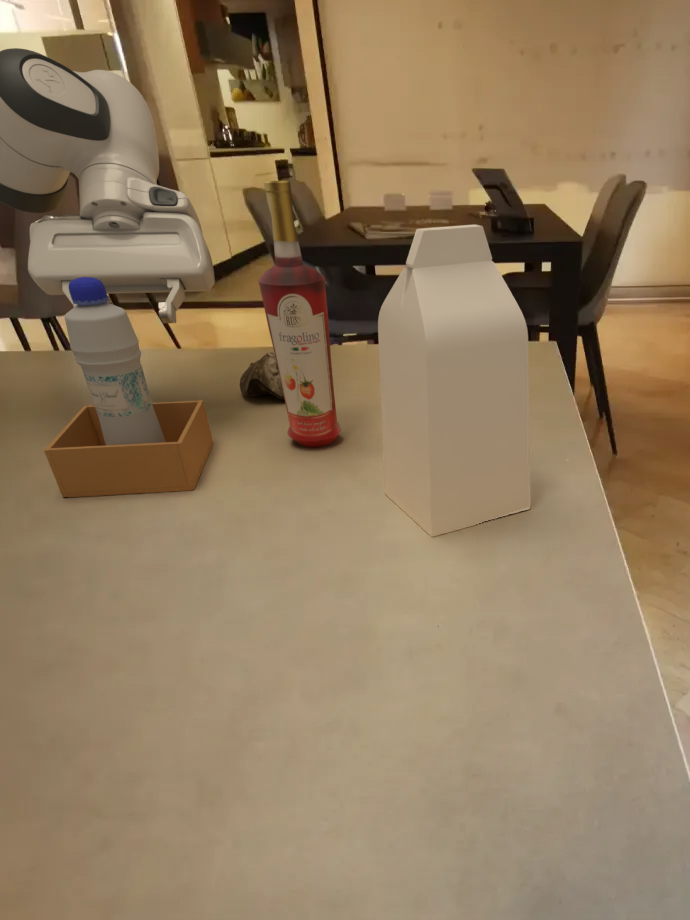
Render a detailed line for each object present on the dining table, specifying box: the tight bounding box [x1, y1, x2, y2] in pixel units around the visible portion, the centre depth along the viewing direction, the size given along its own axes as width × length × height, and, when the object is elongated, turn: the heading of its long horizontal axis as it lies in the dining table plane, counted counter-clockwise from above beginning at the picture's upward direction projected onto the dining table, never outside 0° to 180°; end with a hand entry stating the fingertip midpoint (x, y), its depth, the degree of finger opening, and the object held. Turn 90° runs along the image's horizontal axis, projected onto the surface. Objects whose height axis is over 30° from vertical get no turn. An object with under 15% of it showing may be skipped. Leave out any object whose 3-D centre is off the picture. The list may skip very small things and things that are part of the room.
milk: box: [377, 224, 532, 538], centre depth 69 cm, size 12×12×26 cm
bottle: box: [64, 277, 165, 445], centre depth 77 cm, size 7×7×20 cm
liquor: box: [257, 180, 343, 448], centre depth 82 cm, size 7×7×28 cm
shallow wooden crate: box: [43, 399, 214, 498], centre depth 82 cm, size 14×14×6 cm
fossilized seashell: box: [239, 351, 285, 400], centre depth 103 cm, size 8×7×10 cm
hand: (126, 321), depth 82 cm, fingers open, 8 cm apart
